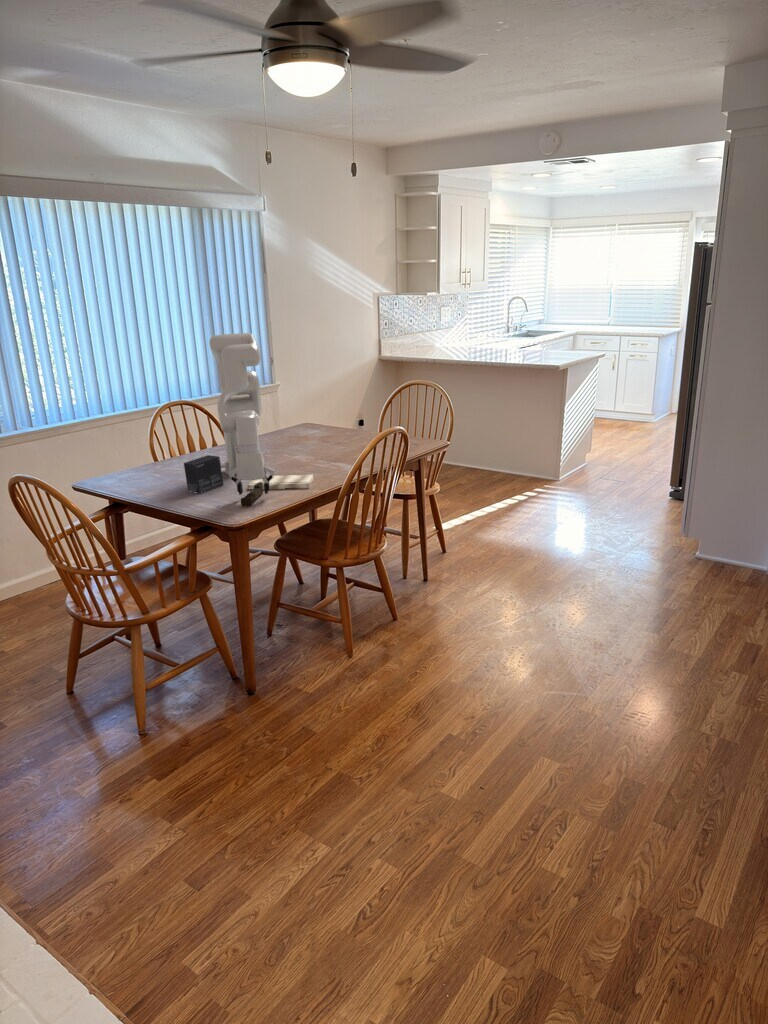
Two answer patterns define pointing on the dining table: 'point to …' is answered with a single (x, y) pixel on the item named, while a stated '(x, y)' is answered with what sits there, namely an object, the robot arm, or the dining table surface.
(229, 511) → the dining table surface
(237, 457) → the robot arm
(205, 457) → the small box
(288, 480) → the birch board
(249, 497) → the hand tool
